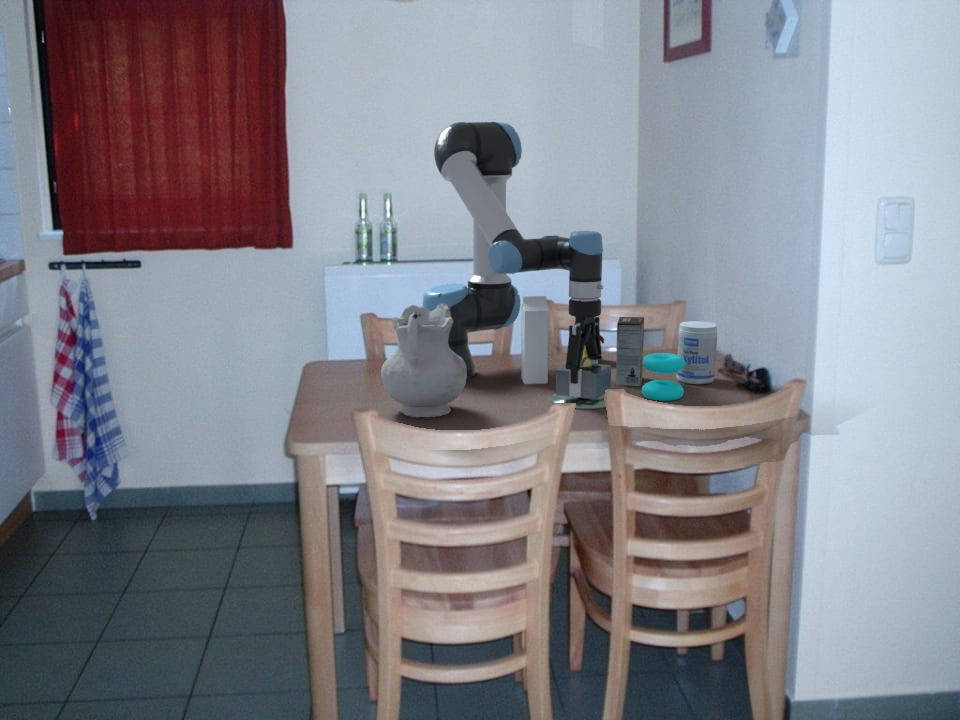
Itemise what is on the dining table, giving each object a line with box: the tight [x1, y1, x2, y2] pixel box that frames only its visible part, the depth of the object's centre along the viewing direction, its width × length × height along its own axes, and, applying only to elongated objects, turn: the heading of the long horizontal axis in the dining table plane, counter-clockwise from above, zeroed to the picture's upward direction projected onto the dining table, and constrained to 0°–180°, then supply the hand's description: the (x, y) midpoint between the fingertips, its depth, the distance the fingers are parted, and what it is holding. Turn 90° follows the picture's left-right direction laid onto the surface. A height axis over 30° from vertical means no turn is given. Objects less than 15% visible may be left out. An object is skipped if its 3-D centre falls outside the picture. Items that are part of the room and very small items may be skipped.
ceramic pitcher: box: [380, 303, 468, 418], centre depth 228 cm, size 22×20×25 cm
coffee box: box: [615, 316, 645, 387], centre depth 256 cm, size 9×6×16 cm
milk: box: [520, 295, 549, 385], centre depth 256 cm, size 6×6×22 cm
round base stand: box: [549, 357, 606, 410], centre depth 239 cm, size 16×16×10 cm
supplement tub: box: [676, 320, 718, 385], centre depth 256 cm, size 10×10×15 cm
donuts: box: [641, 352, 685, 402], centre depth 242 cm, size 10×10×10 cm
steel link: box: [555, 363, 612, 399], centre depth 239 cm, size 10×10×6 cm
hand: (583, 391), depth 240 cm, fingers closed on steel link, 10 cm apart
